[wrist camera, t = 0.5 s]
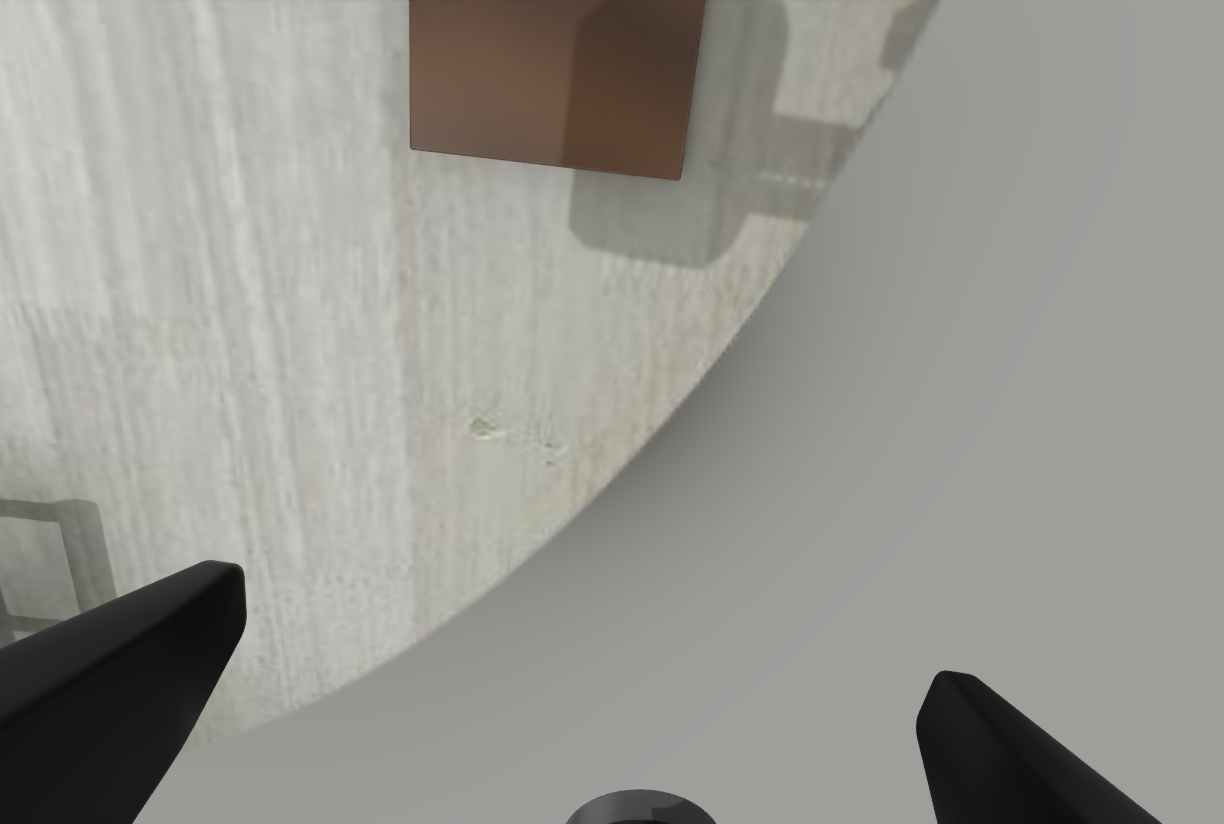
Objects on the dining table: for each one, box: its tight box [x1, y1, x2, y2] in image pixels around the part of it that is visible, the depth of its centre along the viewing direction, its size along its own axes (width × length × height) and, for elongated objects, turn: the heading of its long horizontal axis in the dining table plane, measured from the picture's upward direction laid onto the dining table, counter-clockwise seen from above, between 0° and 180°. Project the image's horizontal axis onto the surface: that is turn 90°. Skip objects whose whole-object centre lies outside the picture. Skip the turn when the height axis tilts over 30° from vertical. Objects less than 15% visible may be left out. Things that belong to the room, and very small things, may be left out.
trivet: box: [409, 0, 705, 181], centre depth 17 cm, size 7×7×1 cm
